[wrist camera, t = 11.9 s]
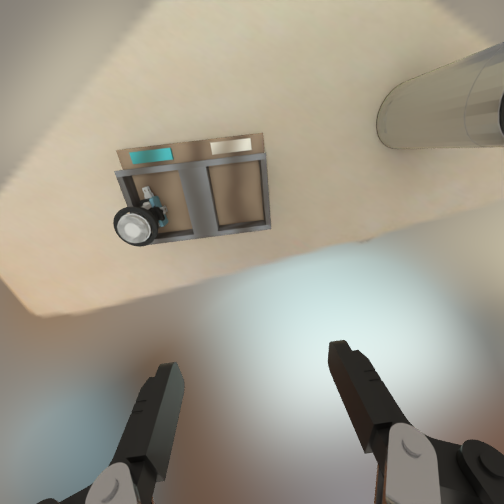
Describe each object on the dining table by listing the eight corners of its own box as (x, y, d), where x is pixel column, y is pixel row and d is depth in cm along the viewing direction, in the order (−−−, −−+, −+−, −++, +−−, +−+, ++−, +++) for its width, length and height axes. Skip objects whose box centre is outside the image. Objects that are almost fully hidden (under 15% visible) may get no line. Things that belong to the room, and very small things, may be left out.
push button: (132, 189, 33) (94, 204, 24) (164, 182, 33) (138, 193, 24) (150, 228, 36) (122, 253, 27) (179, 221, 36) (161, 244, 27)
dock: (261, 133, 32) (265, 131, 28) (268, 224, 39) (272, 232, 35) (121, 150, 32) (104, 150, 28) (152, 239, 39) (142, 249, 35)
